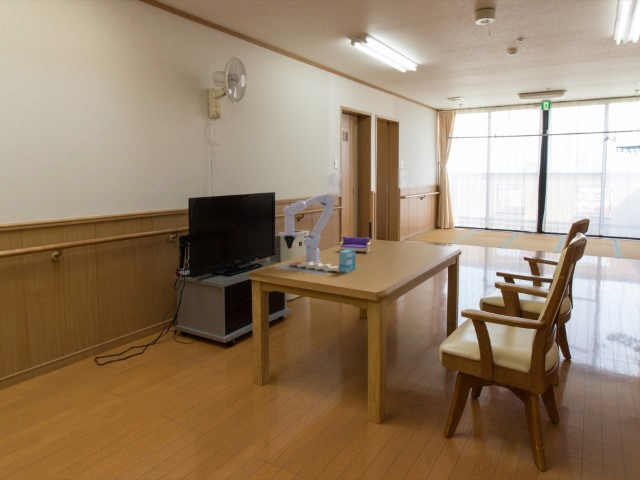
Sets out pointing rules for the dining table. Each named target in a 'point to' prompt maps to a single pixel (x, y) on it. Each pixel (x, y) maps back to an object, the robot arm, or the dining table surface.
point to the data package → (347, 260)
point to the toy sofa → (355, 244)
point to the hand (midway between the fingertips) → (289, 248)
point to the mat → (302, 269)
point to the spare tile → (296, 263)
